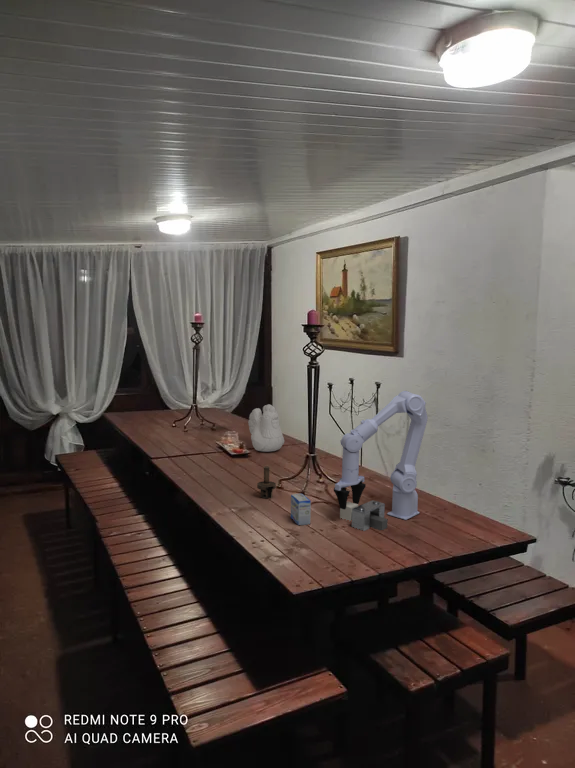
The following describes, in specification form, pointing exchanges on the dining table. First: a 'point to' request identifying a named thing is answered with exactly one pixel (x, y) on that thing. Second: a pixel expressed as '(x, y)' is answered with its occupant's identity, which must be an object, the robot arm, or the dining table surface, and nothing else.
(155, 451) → the dining table surface
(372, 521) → the plug
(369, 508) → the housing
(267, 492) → the industrial component
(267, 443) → the white lumpy sculpture
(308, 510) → the medicine box
